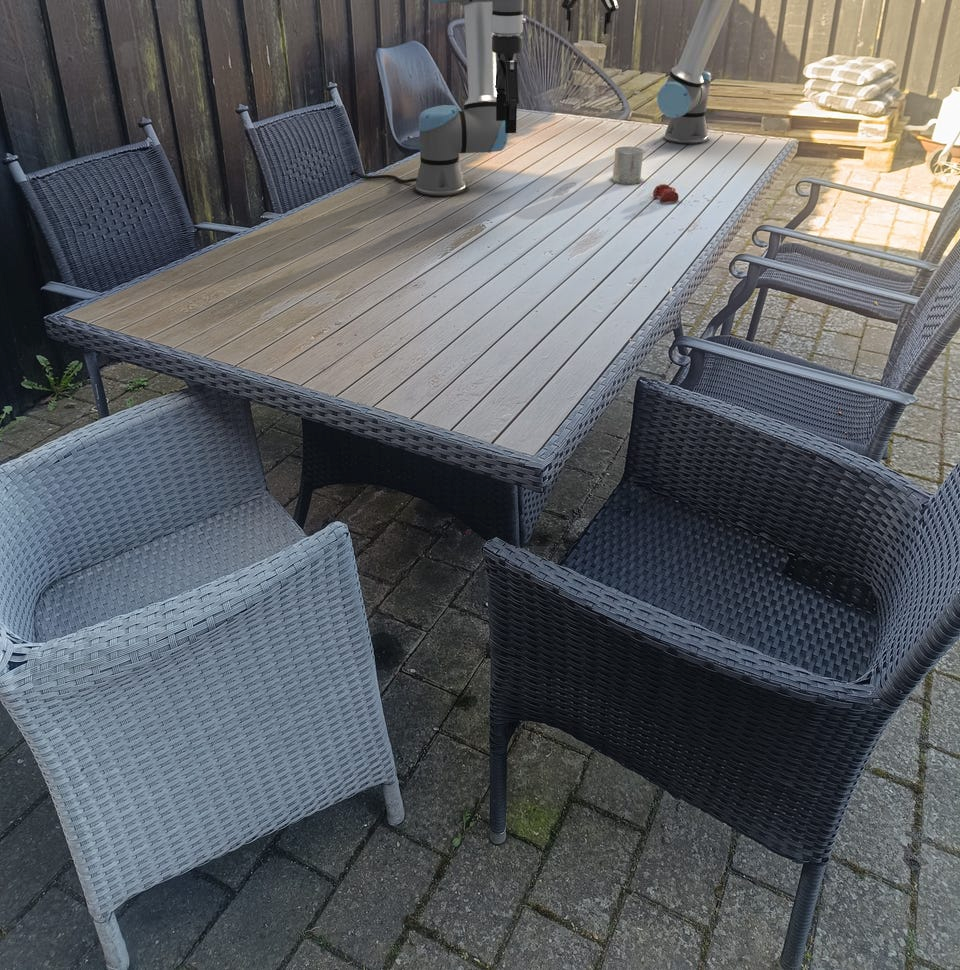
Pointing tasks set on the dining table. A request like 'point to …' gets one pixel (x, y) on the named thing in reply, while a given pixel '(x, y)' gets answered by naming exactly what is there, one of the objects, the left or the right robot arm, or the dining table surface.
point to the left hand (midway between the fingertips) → (505, 126)
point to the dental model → (665, 193)
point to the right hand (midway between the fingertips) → (588, 32)
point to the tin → (627, 165)
